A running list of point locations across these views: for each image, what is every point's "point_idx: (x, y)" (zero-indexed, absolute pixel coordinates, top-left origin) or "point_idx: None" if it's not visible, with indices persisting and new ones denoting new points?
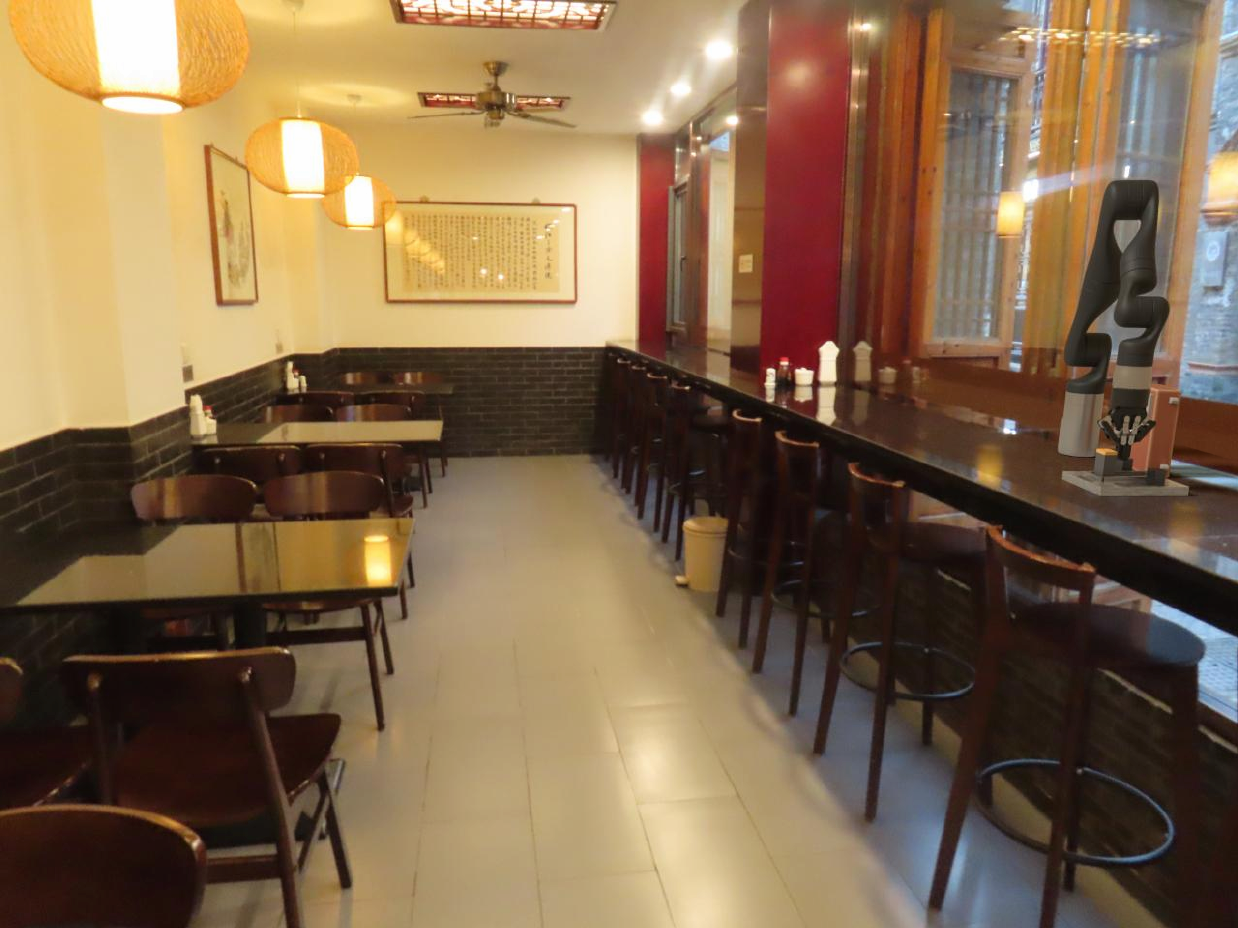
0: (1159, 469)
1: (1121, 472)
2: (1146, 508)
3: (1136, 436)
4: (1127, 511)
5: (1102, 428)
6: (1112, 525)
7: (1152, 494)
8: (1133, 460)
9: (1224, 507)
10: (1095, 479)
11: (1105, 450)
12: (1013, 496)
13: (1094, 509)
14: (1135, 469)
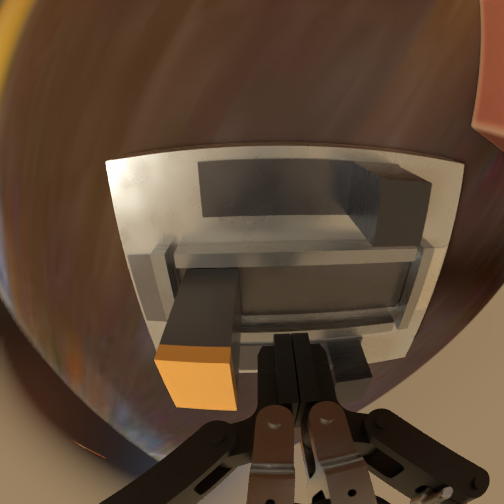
0: (350, 395)
1: (319, 261)
2: (226, 410)
3: (366, 454)
4: (183, 415)
5: (137, 491)
6: (142, 435)
7: None
8: (499, 30)
9: (377, 396)
10: None
11: (187, 391)
12: (22, 328)
13: (133, 403)
14: (482, 52)
